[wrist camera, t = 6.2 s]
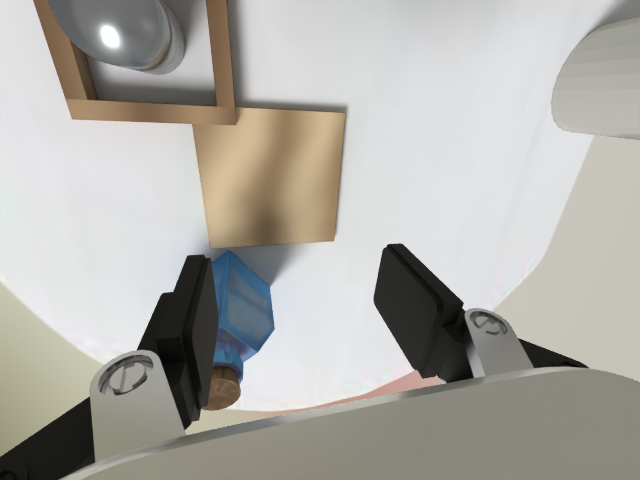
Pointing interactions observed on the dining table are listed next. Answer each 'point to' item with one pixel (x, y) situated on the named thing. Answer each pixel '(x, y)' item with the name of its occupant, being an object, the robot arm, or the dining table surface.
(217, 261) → the perfume bottle
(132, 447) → the robot arm
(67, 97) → the collar
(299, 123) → the mat
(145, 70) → the peg
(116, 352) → the dining table surface
